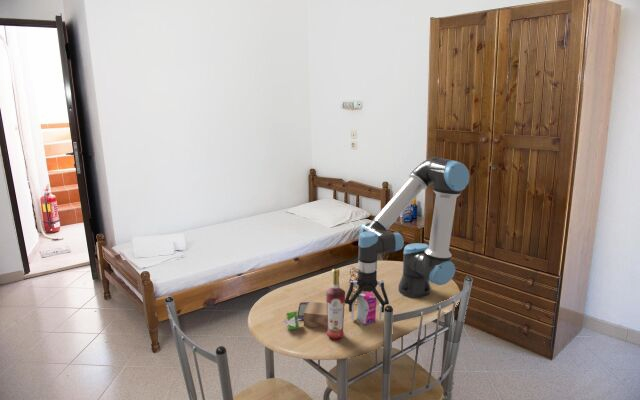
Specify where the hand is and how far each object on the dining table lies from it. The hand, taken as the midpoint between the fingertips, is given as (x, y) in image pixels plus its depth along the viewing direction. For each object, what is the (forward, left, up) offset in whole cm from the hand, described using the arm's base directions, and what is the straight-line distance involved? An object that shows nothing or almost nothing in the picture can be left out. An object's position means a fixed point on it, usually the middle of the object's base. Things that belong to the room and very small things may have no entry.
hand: (366, 318), depth 193 cm
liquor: (+12, +13, -1) cm, 18 cm away
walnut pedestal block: (+20, +1, -1) cm, 20 cm away
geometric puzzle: (+30, +7, -1) cm, 31 cm away
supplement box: (0, 0, -1) cm, 1 cm away
